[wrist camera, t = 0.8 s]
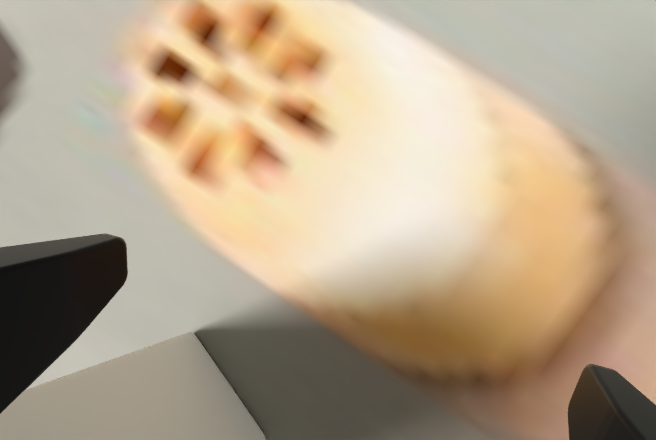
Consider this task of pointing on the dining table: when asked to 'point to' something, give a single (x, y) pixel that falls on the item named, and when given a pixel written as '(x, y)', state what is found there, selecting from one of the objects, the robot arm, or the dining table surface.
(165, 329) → the dining table surface
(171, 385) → the milk carton
